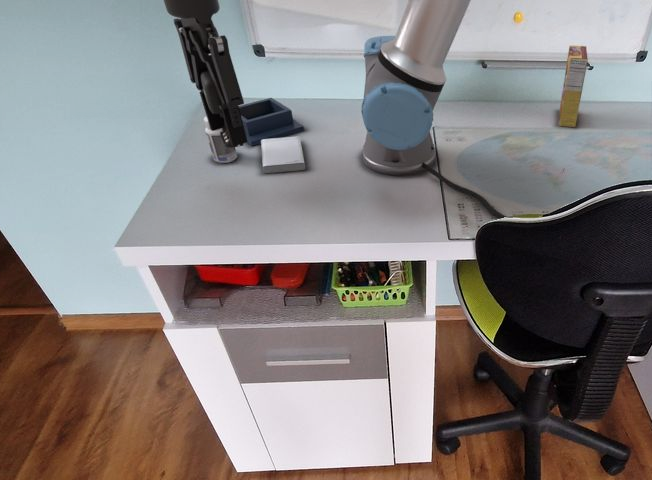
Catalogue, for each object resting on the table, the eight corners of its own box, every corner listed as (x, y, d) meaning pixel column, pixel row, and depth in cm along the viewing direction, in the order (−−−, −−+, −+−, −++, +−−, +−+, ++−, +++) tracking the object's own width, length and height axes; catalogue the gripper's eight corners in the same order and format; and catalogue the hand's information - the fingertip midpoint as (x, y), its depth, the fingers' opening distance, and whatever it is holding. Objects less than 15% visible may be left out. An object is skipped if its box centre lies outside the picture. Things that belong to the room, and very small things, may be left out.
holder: (304, 130, 122) (301, 112, 119) (251, 146, 116) (247, 127, 113) (273, 110, 129) (269, 93, 126) (221, 124, 123) (217, 106, 120)
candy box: (557, 111, 135) (569, 44, 124) (574, 112, 135) (588, 45, 124) (557, 126, 129) (569, 56, 118) (575, 127, 128) (589, 58, 117)
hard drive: (304, 162, 108) (299, 135, 116) (262, 166, 106) (260, 138, 115) (305, 170, 109) (300, 142, 118) (264, 174, 108) (262, 146, 116)
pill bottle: (242, 155, 113) (231, 115, 107) (228, 165, 109) (217, 124, 103) (222, 151, 114) (211, 111, 108) (208, 160, 110) (196, 120, 104)
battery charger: (216, 135, 97) (196, 67, 89) (237, 131, 98) (220, 64, 90) (222, 151, 93) (201, 82, 85) (244, 147, 94) (226, 79, 86)
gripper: (242, -8, 75) (276, 149, 92) (182, -35, 85) (222, 112, 102) (190, 0, 71) (235, 163, 88) (133, -28, 82) (184, 122, 98)
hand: (228, 135), depth 95 cm, fingers closed on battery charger, 7 cm apart
